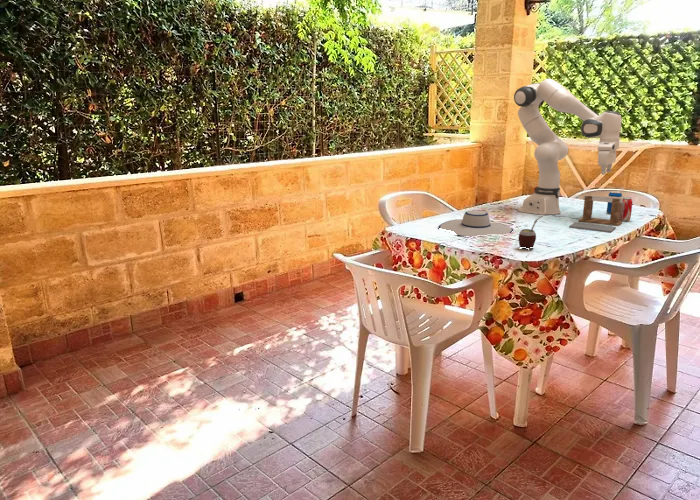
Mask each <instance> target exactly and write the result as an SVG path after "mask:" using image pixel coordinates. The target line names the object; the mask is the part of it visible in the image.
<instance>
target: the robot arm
mask: <svg viewBox="0 0 700 500" xmlns="http://www.w3.org/2000/svg"><path fill="white" fill-rule="evenodd" d="M513 101H514V103H515V104H516V105H517V106H518V107H519V109H518V111H517V115H518V119H519V121H520V123H521V125H522V127H523V129H524V131H525V132H526V133H527V136H528V137H529V138H530V140H531V141H532V142H534V143H535V144H536V145H538V146H536V148H535V149H534V152H533V153H534V155H533V156H534V158H535V159H536V161H537V167H538V181H537V182H538V183H537V186H535V187H534V188H533V193H531V195H529V196H528V197H526V198H525V199H524V200H523V202H522V206H520V207H518V208H517V211H518V212H520V213H521V212H522V213H527V214H532V215H533V214H534V215H538V216H539V215H540V216H545V215H558V214H560V213H561V210H560V201H559V200H560V195H561V187H560V183H561V171H560V170H559V164H558V161H561V160H563V159H564V158H566V156H568V154H569V147H568V146H569V145H568V144H567V143H566V142H564V141H563V140H562V139H561V138H560V137H559V136H558V135H557V134H556V133H555V132H554V131H553V130H552V129H551V127H550V126H549V125H548V122H547V121H546V120H545V118H544V117H543V115H542V113H541V112H540V110H539V107H542V106H543V105H544V103H546V104H547V105H548V106H549V107H551V108H552V109H553V110H555V111H557V112H559V113H564V114H565V113H566V114H572V115H573V116H576V117H578V118H579V119H580V120H582V121H583V122H582V123H581V124H580V125H581V126H580V132H581V134H582V136H584V137H585V138H588V139H592V138H599V142H598V146H597V150H598V152H597V153H598V154H597V164H598V166H599V167H600V169H601V171H600V172H601V175H602V176H603V175H606V174H607V173H611V172H612V167H613V164H614V163H616V161H617V160H616V159H617V150H619V147H620V141H621V138H620V133H621V130H622V115H621V113H620V112H618V111H613V110H606V111H605V110H604V111H603V112H602V113H601V114H597V112H595V111H594V110H592V109H591V108H590V107H588V106H587V105H585V104H584V103H583V102H581V101H580V100H579V99H578V98H577V97H576V96H575V95H574V94H572V92H570V91H569V90H568V89H567V88H566V87H564V86H563V85H562V84H561V83H559V82H557V81H556V80H555V79H552V78H546V79H543V80H542V81H541V82H537V83H530V84H527V85H525V86H521V87H519V88H518V89H516V90H515V92H514V94H513Z"/></svg>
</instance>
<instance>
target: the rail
mask: <svg viewBox="0 0 700 500" xmlns="http://www.w3.org/2000/svg"><path fill="white" fill-rule="evenodd" d="M585 196H588V197H591V201H593V202H602V203H603V202H604V203H608V202H612V200H613V199H620V200H619V203H623V197H624V196H622V197H611V196H609V195H599V194H598V195H597V194H589V193H588V194H586V193H585V194H583V197H582V200H583V201H584V200H585Z"/></svg>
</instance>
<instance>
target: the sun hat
mask: <svg viewBox="0 0 700 500" xmlns="http://www.w3.org/2000/svg"><path fill="white" fill-rule="evenodd" d="M489 215H490V214H489V213H488V212H487V211H484V210H475V209H474V210H467V211H465V212H464V214H463V216H462V219H459V218H458V219H451V220H448V221H445V222H442V223H441V224H439V225H438V227H439V228H442V229H446V230H451V231H454V232H455V233H456V234H457V235H460V236H459V237H462V236H477V235H487V234H506V233H511V232H512V231H513V230H514V228H512V227H510V226H508V225H506V224H504V223H501V222H491V221H490V216H489ZM507 226H508V227H507ZM439 228H438V229H439ZM513 232H514V231H513ZM511 234H512V233H511Z"/></svg>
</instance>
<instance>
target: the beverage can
mask: <svg viewBox="0 0 700 500" xmlns="http://www.w3.org/2000/svg"><path fill="white" fill-rule="evenodd" d="M608 196H611V197H623V194H622V192H621V191H618V190H610V191H609V193H608ZM606 206H607V207H606V213H607V214H608V215H611V208H612V202H607V205H606Z"/></svg>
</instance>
